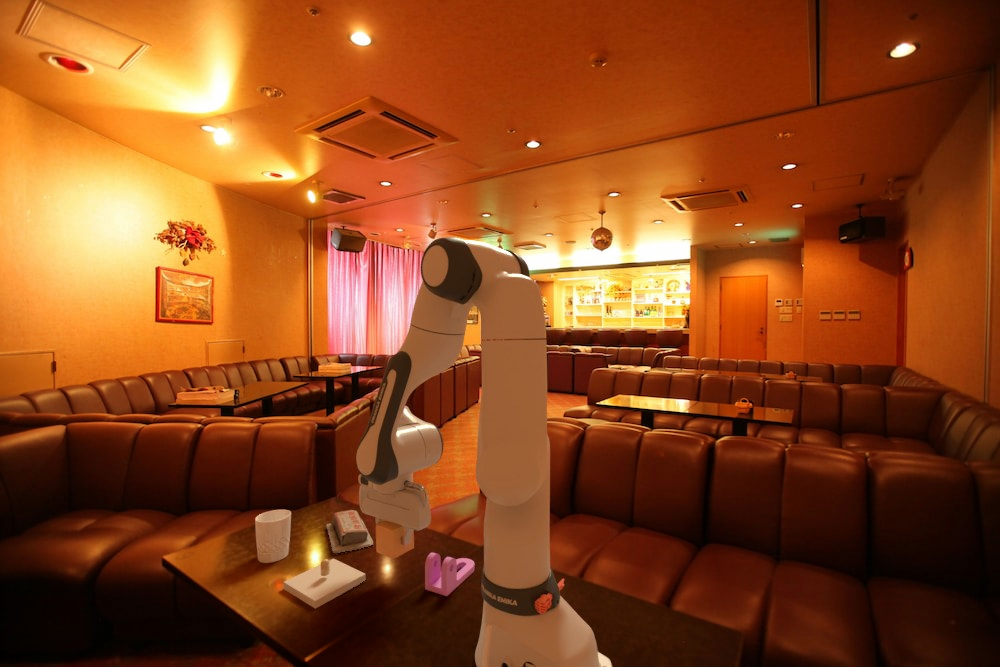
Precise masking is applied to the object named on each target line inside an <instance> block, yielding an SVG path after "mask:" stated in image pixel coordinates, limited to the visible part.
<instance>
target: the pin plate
mask: <svg viewBox="0 0 1000 667" xmlns="http://www.w3.org/2000/svg"><path fill="white" fill-rule="evenodd" d="M366 576H367V574H366V573H365V572H362V571H360V570H358V569H356V568H355V567H352V566H351V565H348V564H346V563H344V562H342V561H339V560H338V559H336V558H331V559H328V558H324V559H322V560H321V562H320V564H318V565H316V566H314V567H312V568H310V569H308V570H306V571H303V572H302V573H299V574H298V575H295V576H293V577H291V578H288V579H287V580H284V581H283V586H282V587H283V590H285V591H286V592H287V593H289V594H291V595H292V596H294V597H295V598H298V599H299V600H301V601H302V602H303V603H305V604H307V605H309V606H310V607H312V608H314V609H315V610H316V609H317V608H319V607H321V606H323V605H324V604H327V603H328V602H330V601H332V600H334V599H336V598H337V597H339V596H341V595H343V594H344V593H346V592H348V591H350V590H352V589H354V588H355V587H358V586H359V585H361V584H363V583H364V582H366V581H365V580H367V579H366ZM363 581H364V582H363ZM362 582H363V583H362ZM360 583H361V584H360ZM353 587H354V588H353Z"/></svg>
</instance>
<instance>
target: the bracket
mask: <svg viewBox="0 0 1000 667" xmlns="http://www.w3.org/2000/svg"><path fill="white" fill-rule="evenodd" d="M441 561H442V560H441V554H439V553H435V552H430V553H429V554H428V555H427V556H426V559H425V563H424V588H425V590H426V591H429V592H432V593H435V594H439V595H441V596H445V597H448V596H450V594H451V593H452V592H454V591H455V590H456V588H458V587H459V586H460V585H461V584H463V582H465V580H467V579H468V578H469V577H470V576H471V575H472V574H473V573H474V572H475V561H474V560H473V559H470V558H467V557H461V558H457V559H456V558H454V557H451V556H446V557H445V558H444V560H443V561H442V562H441ZM441 563H442V564H441ZM457 571H458V572H457Z"/></svg>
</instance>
